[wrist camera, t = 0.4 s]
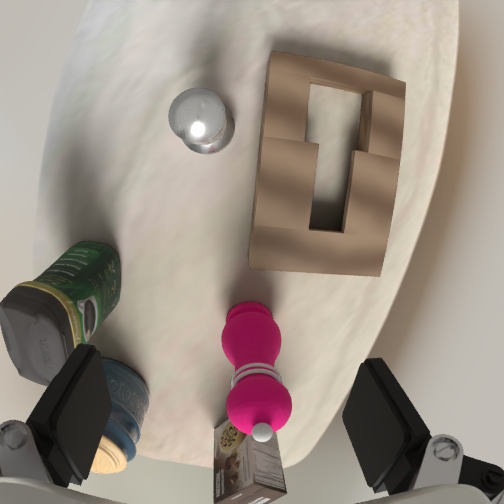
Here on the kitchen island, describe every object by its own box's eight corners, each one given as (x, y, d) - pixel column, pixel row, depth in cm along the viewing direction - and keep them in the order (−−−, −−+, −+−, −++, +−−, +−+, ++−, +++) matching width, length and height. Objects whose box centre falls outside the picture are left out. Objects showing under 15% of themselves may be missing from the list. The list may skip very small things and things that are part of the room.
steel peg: (185, 102, 32) (163, 78, 21) (236, 105, 33) (239, 80, 21) (180, 152, 34) (155, 150, 22) (231, 155, 34) (231, 154, 23)
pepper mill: (212, 312, 40) (201, 429, 21) (261, 288, 39) (286, 399, 20) (238, 351, 42) (244, 469, 23) (284, 330, 42) (318, 444, 22)
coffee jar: (71, 235, 36) (-18, 292, 18) (123, 243, 36) (50, 313, 19) (73, 301, 38) (5, 379, 21) (123, 311, 39) (69, 403, 22)
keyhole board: (267, 61, 31) (272, 51, 27) (390, 88, 32) (405, 82, 29) (248, 257, 38) (249, 268, 34) (367, 265, 39) (379, 276, 36)
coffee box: (241, 441, 49) (246, 515, 33) (213, 429, 47) (211, 505, 32) (275, 416, 47) (289, 494, 32) (246, 402, 45) (252, 485, 30)
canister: (83, 342, 41) (33, 421, 24) (159, 376, 43) (136, 468, 26) (75, 393, 44) (39, 466, 27) (141, 422, 46) (121, 502, 29)
